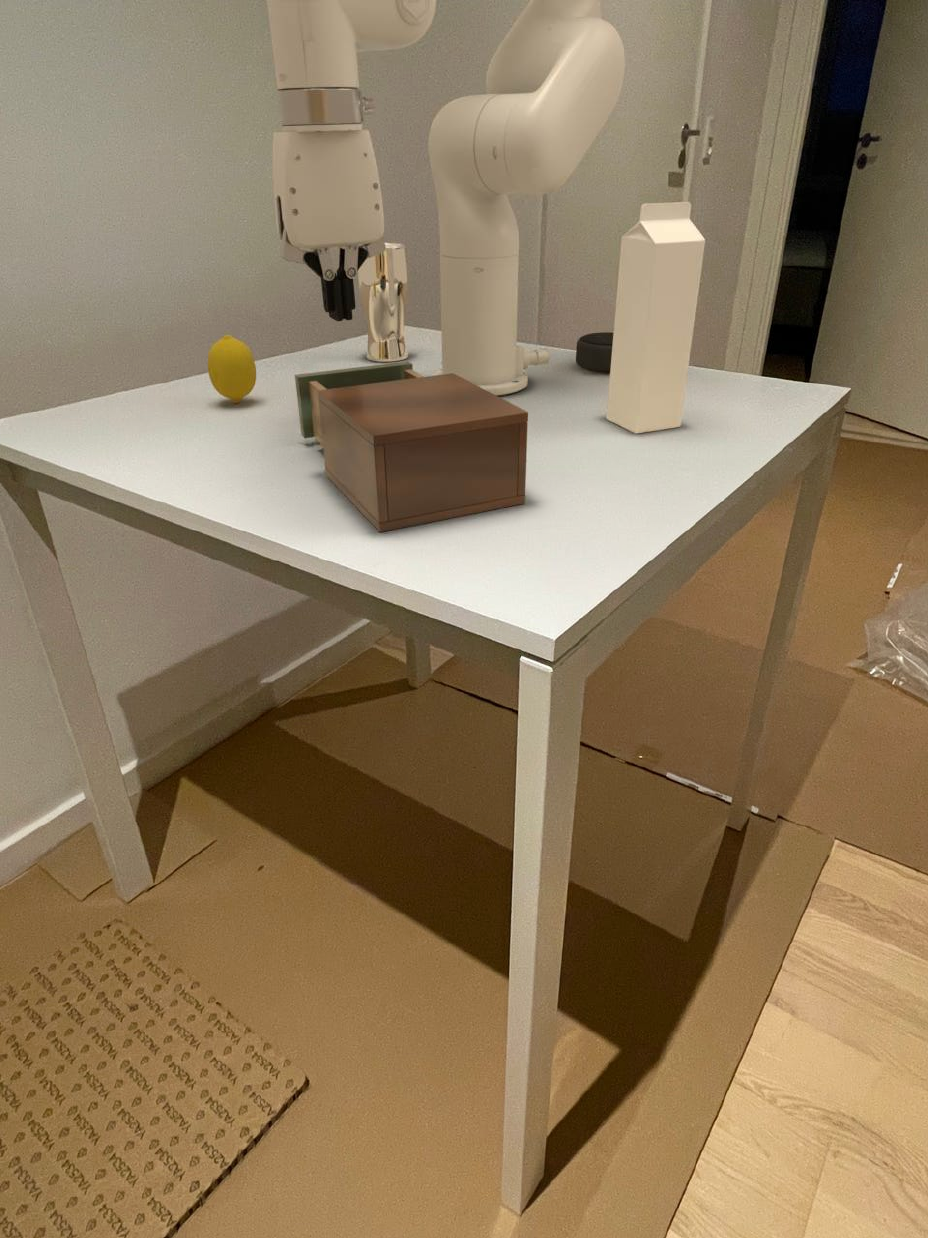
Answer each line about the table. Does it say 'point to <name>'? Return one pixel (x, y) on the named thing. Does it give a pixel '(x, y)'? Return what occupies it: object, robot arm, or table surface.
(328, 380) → the drawer
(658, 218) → the milk
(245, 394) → the lemon
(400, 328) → the beer glass
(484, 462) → the cabinet
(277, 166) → the robot arm
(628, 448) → the table surface
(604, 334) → the smart speaker
